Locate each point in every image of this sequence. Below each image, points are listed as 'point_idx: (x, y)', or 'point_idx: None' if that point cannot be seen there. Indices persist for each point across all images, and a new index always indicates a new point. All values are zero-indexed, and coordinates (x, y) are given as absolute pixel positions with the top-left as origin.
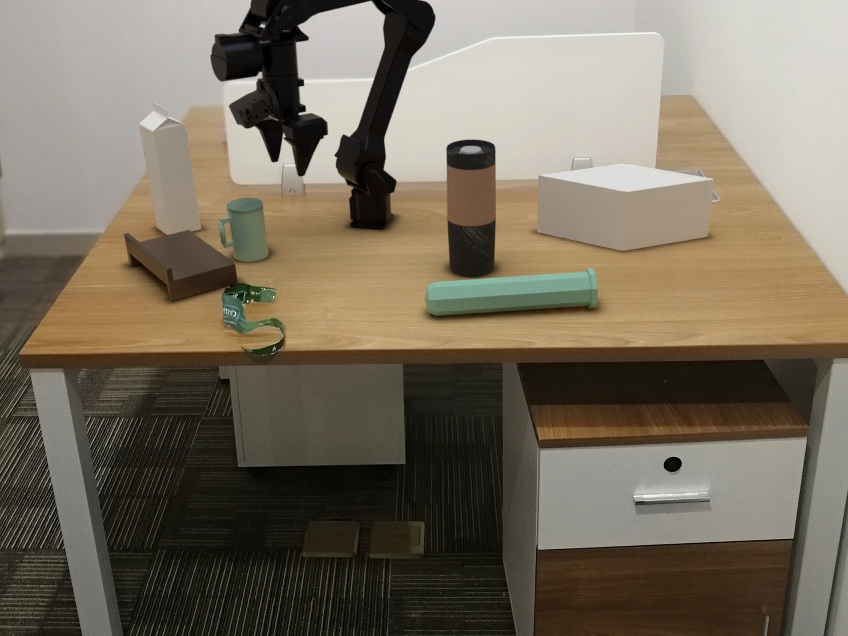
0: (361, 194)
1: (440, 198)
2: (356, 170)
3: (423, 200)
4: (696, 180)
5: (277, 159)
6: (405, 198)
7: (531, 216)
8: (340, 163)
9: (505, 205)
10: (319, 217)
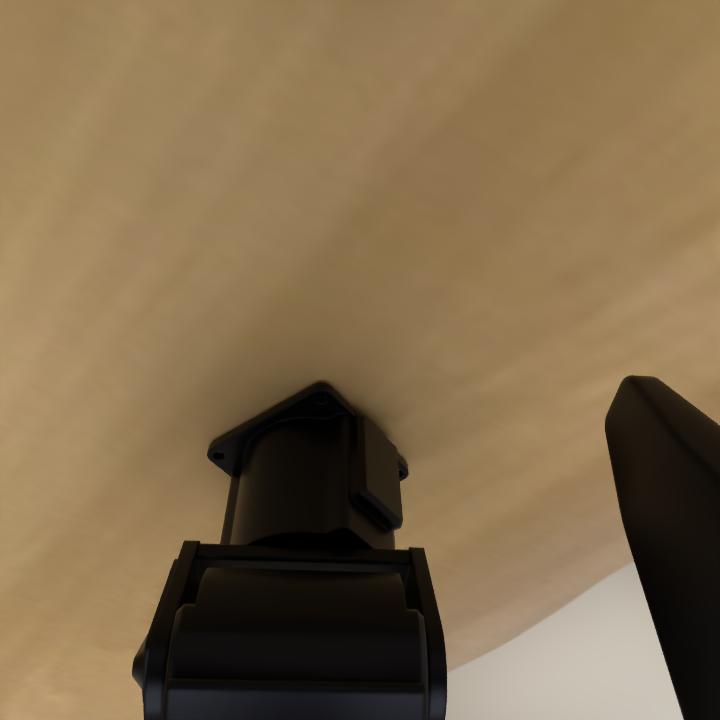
0: (271, 532)
1: None
2: (170, 651)
3: None
4: None
5: (611, 437)
6: None
7: (58, 697)
8: (365, 650)
9: None
10: (522, 351)
